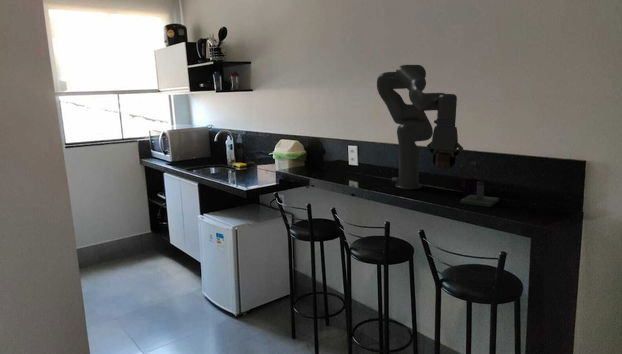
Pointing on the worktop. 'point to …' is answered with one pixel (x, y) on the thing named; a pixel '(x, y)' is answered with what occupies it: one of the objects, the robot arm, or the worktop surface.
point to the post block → (480, 197)
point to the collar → (443, 160)
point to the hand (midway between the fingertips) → (443, 164)
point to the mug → (469, 186)
